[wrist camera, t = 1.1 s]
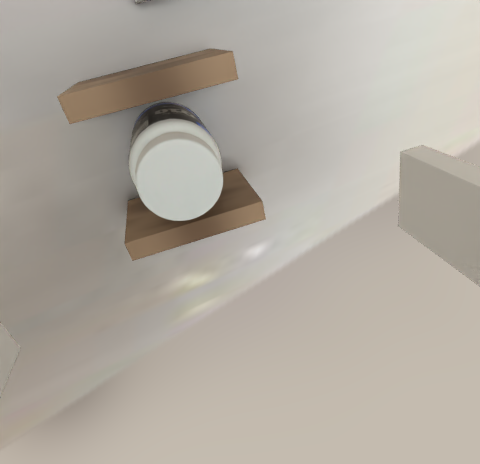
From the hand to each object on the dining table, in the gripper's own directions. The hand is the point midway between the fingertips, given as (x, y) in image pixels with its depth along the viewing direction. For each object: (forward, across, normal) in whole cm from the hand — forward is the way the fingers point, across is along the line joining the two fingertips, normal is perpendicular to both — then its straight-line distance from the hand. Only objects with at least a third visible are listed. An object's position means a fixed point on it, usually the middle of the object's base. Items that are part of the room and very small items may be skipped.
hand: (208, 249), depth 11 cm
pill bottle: (+15, 0, 0) cm, 15 cm away
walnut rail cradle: (+14, 0, 0) cm, 14 cm away
